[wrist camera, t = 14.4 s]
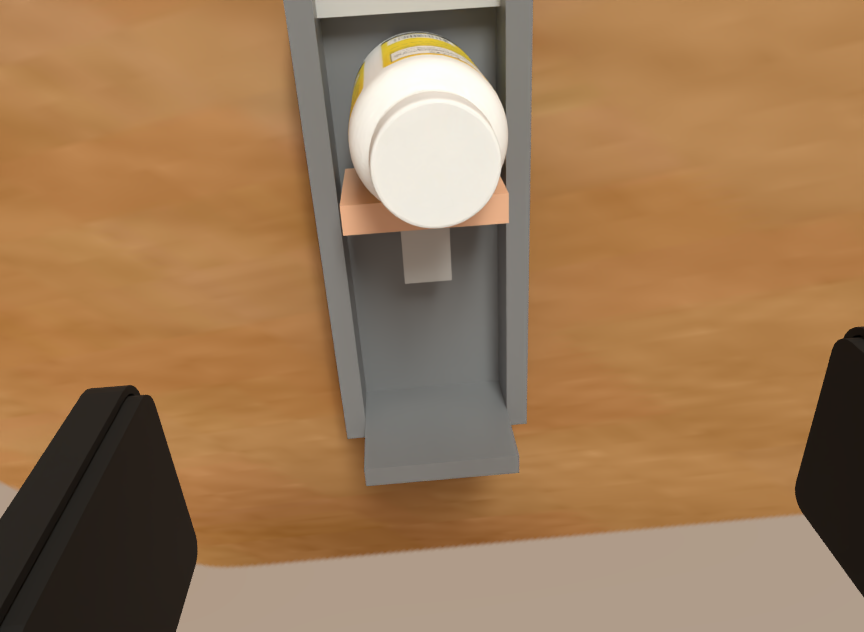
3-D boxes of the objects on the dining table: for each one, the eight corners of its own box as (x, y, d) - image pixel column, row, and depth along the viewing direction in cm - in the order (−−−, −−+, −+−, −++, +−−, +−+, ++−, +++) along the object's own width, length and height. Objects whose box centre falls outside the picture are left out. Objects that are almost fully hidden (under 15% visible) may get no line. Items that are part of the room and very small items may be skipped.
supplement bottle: (410, 186, 31) (422, 282, 22) (326, 90, 29) (303, 157, 20) (507, 106, 29) (559, 176, 21) (426, -1, 27) (447, 28, 19)
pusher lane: (293, -8, 28) (269, 9, 21) (516, -22, 28) (554, -10, 22) (350, 397, 37) (344, 488, 31) (514, 383, 38) (540, 470, 32)
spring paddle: (345, 168, 30) (339, 205, 26) (491, 157, 30) (508, 193, 26) (355, 257, 32) (352, 304, 28) (492, 246, 32) (508, 291, 28)
